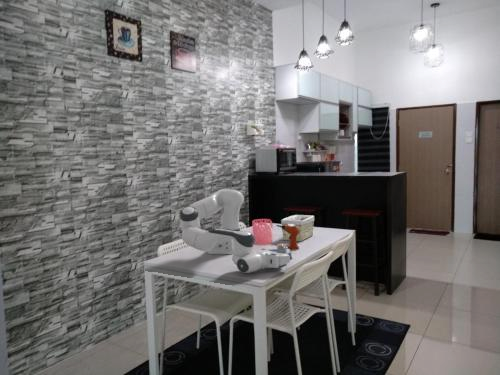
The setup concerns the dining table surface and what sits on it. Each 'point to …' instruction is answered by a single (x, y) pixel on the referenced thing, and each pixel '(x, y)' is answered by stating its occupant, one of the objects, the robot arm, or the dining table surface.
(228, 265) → the dining table surface
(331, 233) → the dining table surface
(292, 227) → the toy drill
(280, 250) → the motor
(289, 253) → the chassis
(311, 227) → the storage basket
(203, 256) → the dining table surface
